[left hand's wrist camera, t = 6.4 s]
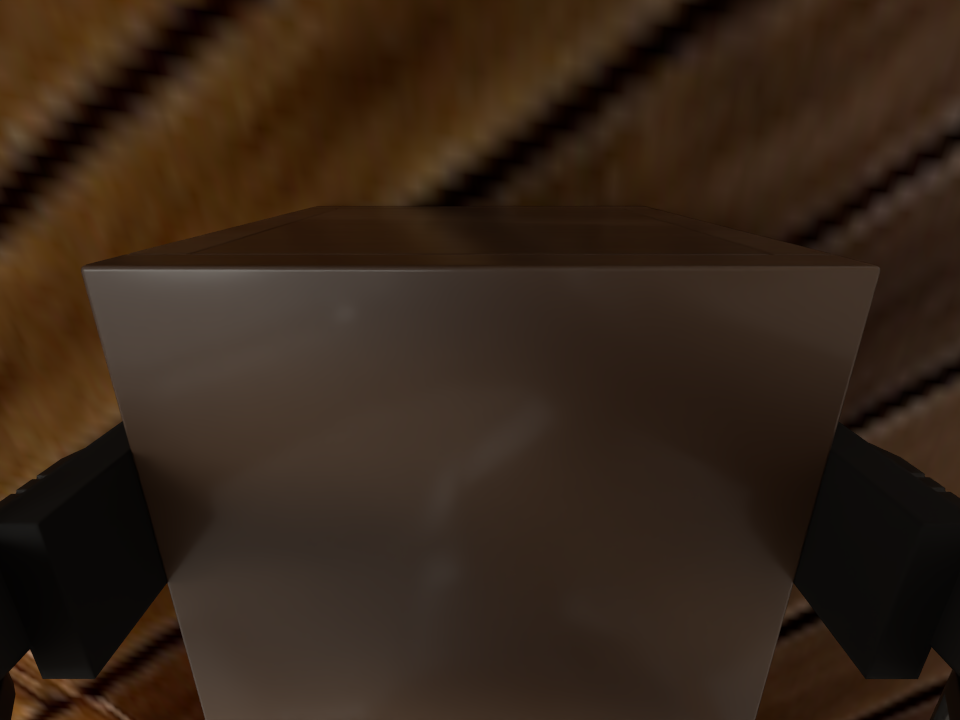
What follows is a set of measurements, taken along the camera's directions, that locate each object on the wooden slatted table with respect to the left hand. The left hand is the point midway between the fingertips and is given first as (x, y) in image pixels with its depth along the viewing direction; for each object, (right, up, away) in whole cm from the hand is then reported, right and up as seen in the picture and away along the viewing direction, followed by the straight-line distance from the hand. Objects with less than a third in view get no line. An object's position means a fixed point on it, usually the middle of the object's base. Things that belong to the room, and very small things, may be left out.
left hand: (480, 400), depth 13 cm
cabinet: (0, -1, +7) cm, 7 cm away
